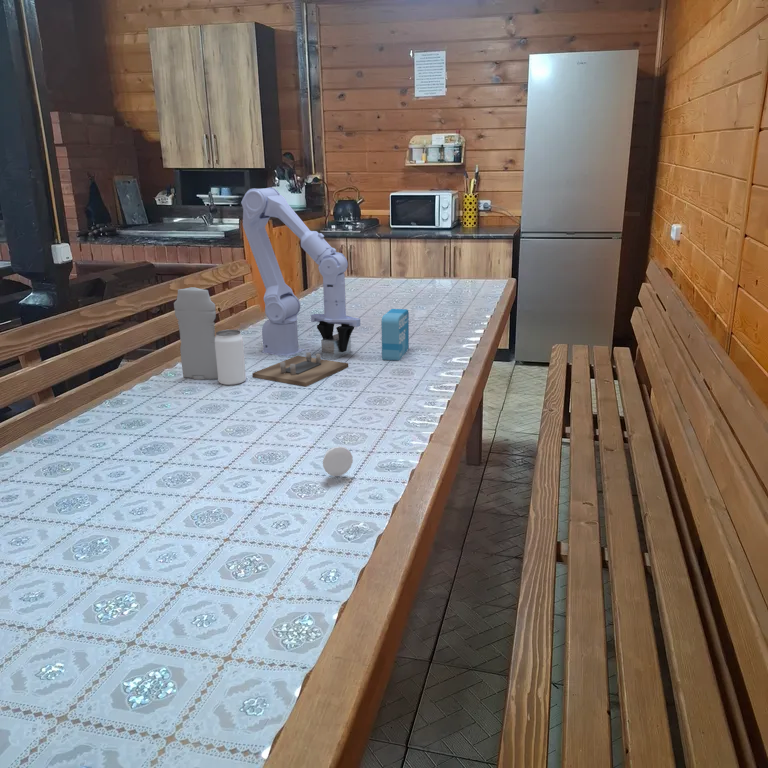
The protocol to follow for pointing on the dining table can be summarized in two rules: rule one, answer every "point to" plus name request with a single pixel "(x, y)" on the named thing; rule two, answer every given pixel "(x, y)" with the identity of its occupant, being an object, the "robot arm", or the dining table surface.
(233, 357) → the can
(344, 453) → the grey oval shape
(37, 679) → the dining table surface
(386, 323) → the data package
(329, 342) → the block
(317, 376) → the pin tray
